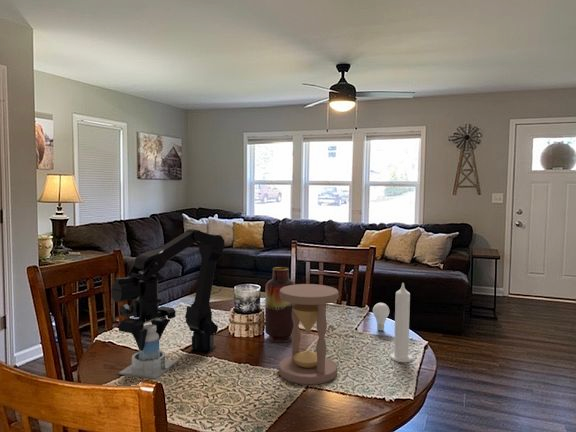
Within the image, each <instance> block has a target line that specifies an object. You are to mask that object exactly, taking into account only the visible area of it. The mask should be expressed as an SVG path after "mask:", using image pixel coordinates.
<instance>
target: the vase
mask: <svg viewBox="0 0 576 432" xmlns="http://www.w3.org/2000/svg"><path fill="white" fill-rule="evenodd" d="M289 271H290V269H289V267H285V266H275V267H272V279H270V280H268V281H267V283H265V293H264V295H265V301H264V303H265V304H264V305H265V307H264V308H265V313H264V315H265V316H264V319H265V322H264V323H265V324H264V327H265V328H264V329H265V330H264V331H265V334H266V335H268V337H267V340H268V341H269V342H271V343H275V344H285V343H289V342H292V339H291V333H292V330H293V326H294V324H293V320H292V307H293V303H290V302H286V301H284V300H282V299H280V289H281V288H283V287H285V286H289V285H296V283H295V282H294V281H293V280H292V279H290V272H289Z"/></svg>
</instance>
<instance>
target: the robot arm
mask: <svg viewBox="0 0 576 432" xmlns="http://www.w3.org/2000/svg"><path fill="white" fill-rule="evenodd" d="M225 243H226V242H225V239H224V237H223V236H222V235H220V234H214V233H207V232H203V231H201V230H200V229H193V228H189V229H187V230H186V231H184V232H183V233H182V234H180V235H177V237H175V238H173V239H171V240H170V241H169V242H167V243H165V244H164V245H162V246H159V248H156V249H153V250H152V249H151V250H148V251H145V252H143V253H141V254H140V253H139V254H138V255H137V256H136V257H135V259H134V263H133V265H132V267H131V268H130V270H129V271H128V273H127V275H126V277H116V278H114V283H113V284H112V286H111V289H110V295H111V297H112V300H113V301H114V302H115V303H123V302H128V301H133V300H134V303H133V305H128V303H125V304H122V305H119V311H118V312H119V315H120V316H121V317H124V319H123V320H120V322H119V323H118V332H123V333H127V334H131V335H132V336H133V338H134V340H135V342H136V345H137V347H138V351H139V350H140V351H143V349H144V345H145V339H146V334H147V329H144V325H146V324H149V323H150V324H153V325H156V326H157V330H156V332H157V333H158V334H159V341H160V340H161V337H162V336H163V333H164V332H165V329H166V328H167V326H168V323H170V321H171V320H172V319H174V318H176V316H177V315H176V314H177V313H176V309H174V307H170V306H160V307H159V303H162V298H159V281H163V280H165V277H164V276H163V275H162V274H161V273H160V271H161V270H162V269H163V268H165V267H166V264H167V263H168V261H170V260H171V259H173V258H174V257H175V256H177V255H178V254H180V253H182V252H183V251H184V250H186V249H188V248H189V247H191V246H192V245H193V244H195V245H198V252H199V255H200V259H201V262H200V268H199V274H198V279H197V287H196V290H195V297H194V301H193V303H192V304H191V305H187V307H186V313H185V316H184V319H185V324H186V325H187V327H188V328H189V331H190V332H192V336H191V348H192V349H191V350H190V352H191V353H197V354H210V353H211V352H212V351H214V349H216V347H217V346H216V345H214V343H215V334H217V333H218V330H219V326H218V325H217V324H216V323H215V322H214V321H213V320H212V319H213V314H212V313H213V311H212V308H211V305H210V301H211V295H212V291H213V290H212V288H213V283H214V278H215V277H214V276H215V273H216V272H215V271H216V266H217V265H216V264H217V261H218V260H219V259H220V257H221V255H222V254H223V252H224V248H225V245H226V244H225ZM132 317H133V318H132ZM136 318H137V319H136Z"/></svg>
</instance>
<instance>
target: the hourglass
mask: <svg viewBox="0 0 576 432" xmlns="http://www.w3.org/2000/svg"><path fill="white" fill-rule="evenodd" d="M339 292H340V291H339V290H338V289H337V288H335V287H334V286H330V285H329V286H328V285H324V284H315V283H299V284H298V283H297V284H296V283H295V285H289V286H285V287H283V288H281V289H280V299H282V300H284V301H286V302H290V303H293V307H292V320H293V324H294V326H293V330H292V333H291V339H292V340H291V344H292V349H291V350H292V351H291V353H292V354H291V356H287V357H285V358H283V359H281V361H280V362H279V364H278V373H279V375H280V376H281V378H283V379H284V380H286V381H288V382H290V383H295V384H299V385H309V386H310V385H320V384H324V383H327V382H330V381H332V380H334V379H335V378H336V377H337V374H338V366H337V365H338V364H337V363H336V362H335V361H334V360H332V359H331V358H328V357H327V343H326V340H325V335H326V331H327V329H328V324H327V317H326V315H327V314H326V313H327V304H331V303H334V302H336V301H337V300H338V299H339V296H340V295H339ZM300 323H301V325H302V326H303V328H304V329H305V331H304V333H305V335H310V334H312V328H313V327H314V325H315V324H316V327H315V328H316V331H317V336H318V339H317V342H316V346H315V351H312V350H304V351H301V350H300V346H301V340H302V337H301V336H302V333H301V330H300V327H299V325H300Z"/></svg>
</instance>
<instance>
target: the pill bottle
mask: <svg viewBox="0 0 576 432" xmlns="http://www.w3.org/2000/svg"><path fill="white" fill-rule="evenodd" d="M144 329H147V334H146V339H145V345H144V349H143V351H140V350H139V349H138V352H139V360H142V361H147V360H154V359H157V358H160V351H159V350H160V340H159V334H158V333H157V332H156V330H157V326H156V325H153V324H152V323H150V324H149V323H148V324H144Z"/></svg>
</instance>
